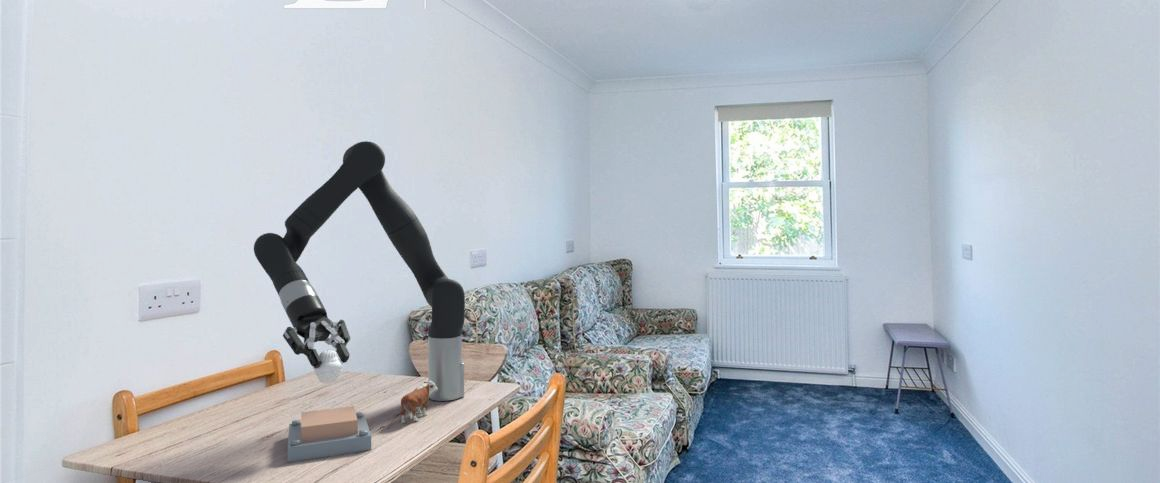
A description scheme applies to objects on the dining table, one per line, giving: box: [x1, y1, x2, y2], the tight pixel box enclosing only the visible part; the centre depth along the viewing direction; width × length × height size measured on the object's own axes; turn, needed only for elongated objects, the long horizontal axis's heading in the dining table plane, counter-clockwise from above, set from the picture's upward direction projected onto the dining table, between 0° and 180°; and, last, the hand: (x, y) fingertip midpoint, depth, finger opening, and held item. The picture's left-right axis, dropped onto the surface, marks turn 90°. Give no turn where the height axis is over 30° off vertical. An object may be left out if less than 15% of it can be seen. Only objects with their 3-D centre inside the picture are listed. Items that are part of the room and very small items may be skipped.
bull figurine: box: [400, 380, 438, 424], centre depth 147 cm, size 4×13×8 cm, turn 161°
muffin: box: [312, 349, 344, 384], centre depth 129 cm, size 6×6×7 cm
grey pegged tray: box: [287, 405, 372, 463], centre depth 129 cm, size 16×16×6 cm
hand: (332, 362), depth 128 cm, fingers closed on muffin, 6 cm apart
